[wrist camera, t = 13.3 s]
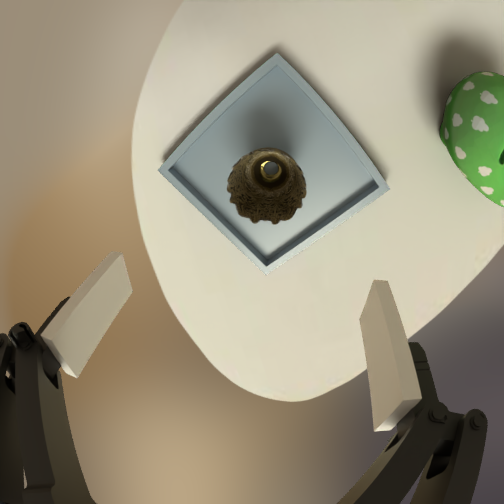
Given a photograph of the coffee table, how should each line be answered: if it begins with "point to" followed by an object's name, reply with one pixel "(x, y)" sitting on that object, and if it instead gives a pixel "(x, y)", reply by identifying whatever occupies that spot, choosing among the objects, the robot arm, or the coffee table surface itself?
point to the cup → (266, 186)
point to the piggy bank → (477, 132)
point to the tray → (286, 139)
